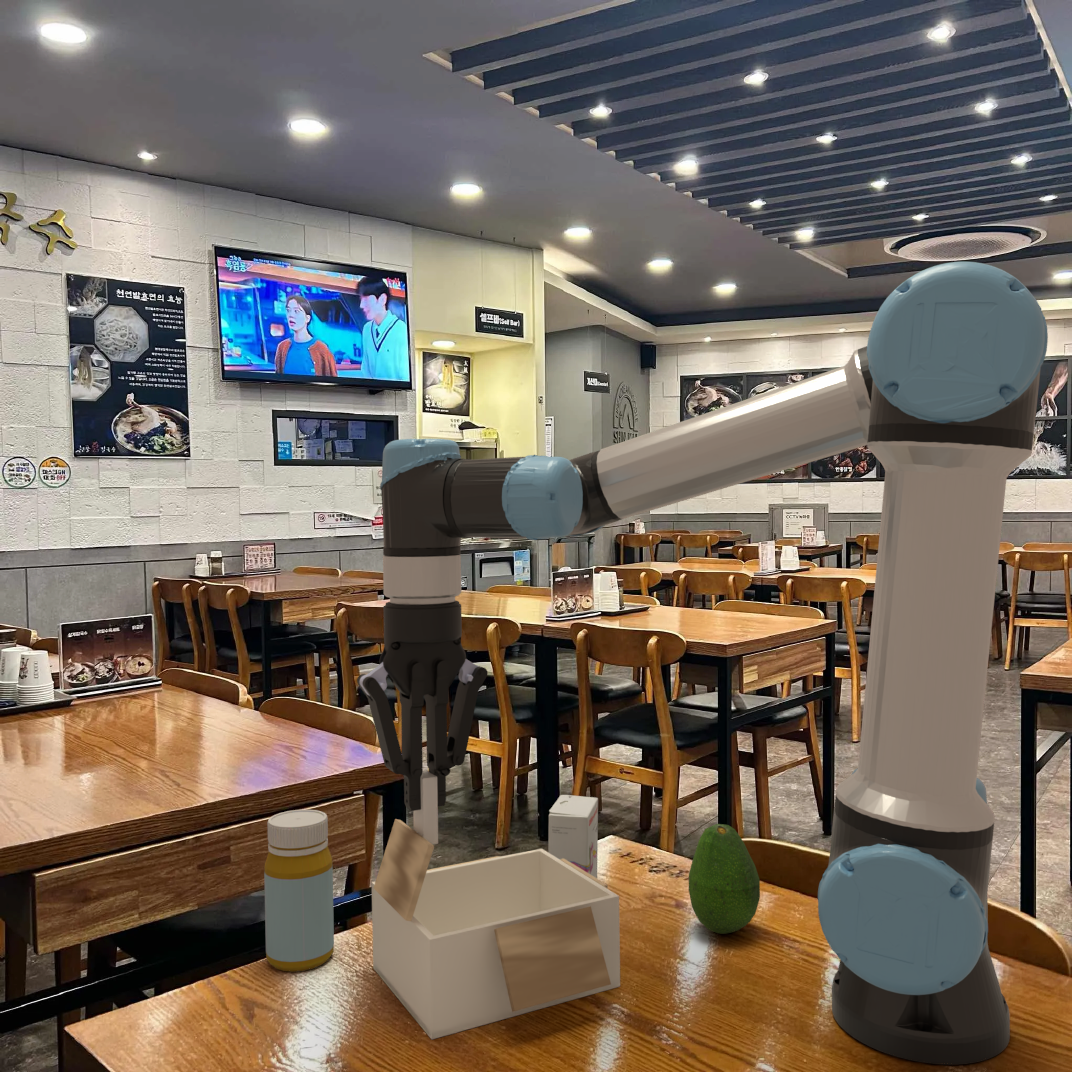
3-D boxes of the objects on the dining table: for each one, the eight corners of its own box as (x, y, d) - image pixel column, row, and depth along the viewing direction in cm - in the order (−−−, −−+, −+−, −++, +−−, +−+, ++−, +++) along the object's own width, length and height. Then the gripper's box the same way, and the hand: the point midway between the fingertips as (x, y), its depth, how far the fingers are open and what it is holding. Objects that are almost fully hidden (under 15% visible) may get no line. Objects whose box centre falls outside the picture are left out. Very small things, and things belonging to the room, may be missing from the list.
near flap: (587, 907, 95) (608, 985, 92) (494, 929, 90) (512, 1012, 87) (590, 906, 95) (611, 984, 92) (496, 928, 90) (514, 1011, 87)
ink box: (589, 916, 115) (588, 815, 115) (547, 913, 116) (545, 813, 116) (599, 888, 123) (598, 794, 123) (559, 886, 124) (558, 792, 124)
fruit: (674, 933, 110) (673, 825, 110) (713, 911, 116) (712, 809, 115) (736, 953, 105) (735, 841, 104) (774, 930, 110) (773, 823, 110)
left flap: (411, 921, 91) (434, 845, 92) (405, 920, 91) (428, 844, 92) (378, 889, 99) (400, 820, 100) (373, 888, 99) (395, 818, 100)
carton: (627, 984, 98) (626, 894, 98) (431, 1039, 88) (429, 939, 88) (545, 923, 113) (544, 845, 113) (370, 964, 103) (369, 879, 103)
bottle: (274, 979, 100) (271, 832, 100) (259, 953, 106) (257, 814, 106) (342, 964, 103) (339, 821, 103) (323, 939, 110) (321, 804, 109)
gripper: (468, 593, 102) (471, 820, 103) (345, 600, 96) (349, 840, 97) (499, 598, 96) (502, 840, 96) (370, 606, 90) (374, 864, 90)
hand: (425, 840), depth 97 cm, fingers closed
